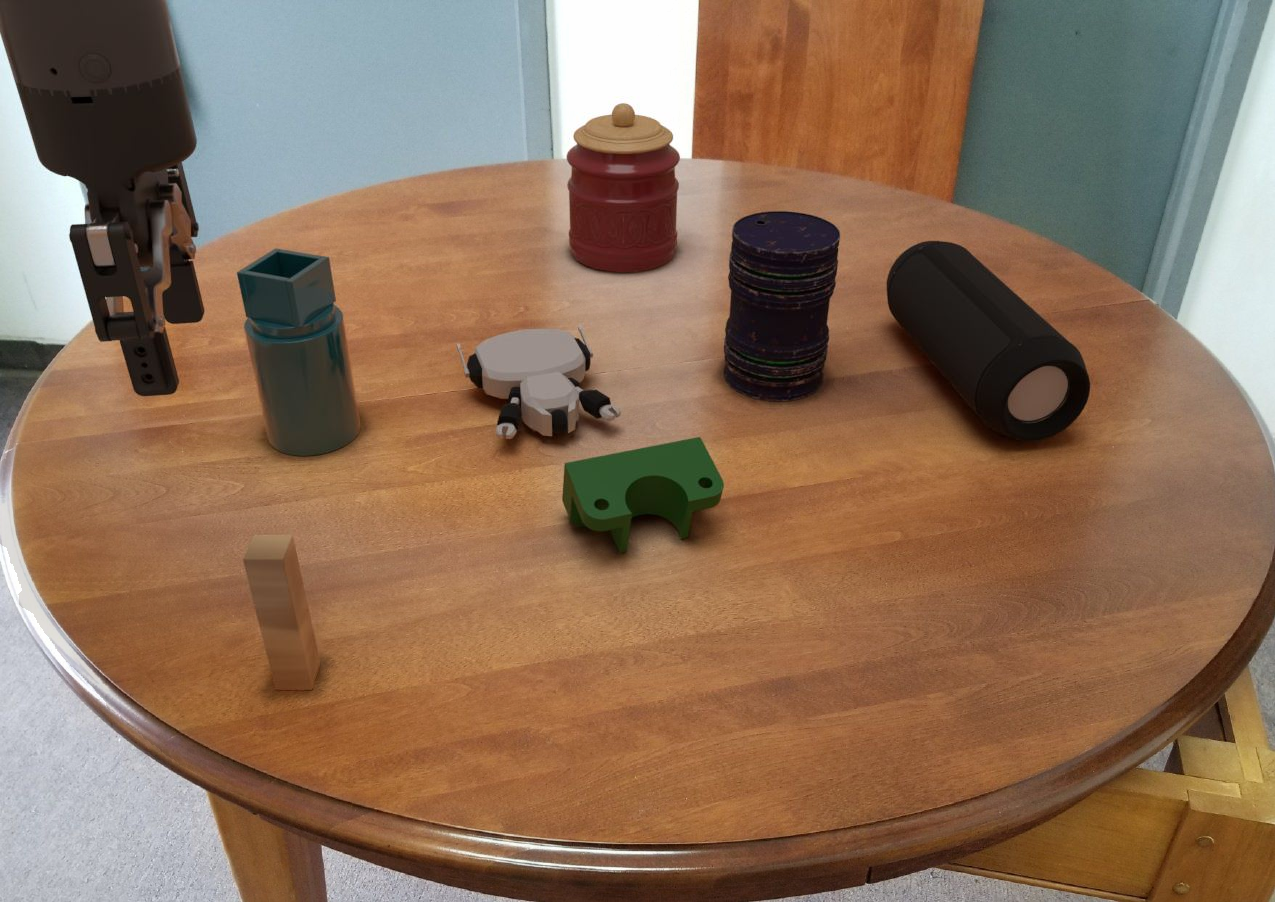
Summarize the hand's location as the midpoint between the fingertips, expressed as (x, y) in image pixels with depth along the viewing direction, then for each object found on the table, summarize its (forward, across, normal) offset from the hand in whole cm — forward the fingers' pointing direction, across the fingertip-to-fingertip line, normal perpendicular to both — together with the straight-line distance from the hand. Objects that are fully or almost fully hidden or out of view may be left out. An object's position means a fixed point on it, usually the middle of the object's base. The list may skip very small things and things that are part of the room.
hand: (173, 354), depth 61 cm
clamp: (+22, -8, +29) cm, 37 cm away
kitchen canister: (+22, -61, +36) cm, 74 cm away
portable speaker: (+22, -26, +64) cm, 73 cm away
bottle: (+22, -26, +3) cm, 34 cm away
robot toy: (+22, -27, +23) cm, 42 cm away
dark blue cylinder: (+22, -29, +46) cm, 59 cm away
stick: (+22, +4, +4) cm, 23 cm away
